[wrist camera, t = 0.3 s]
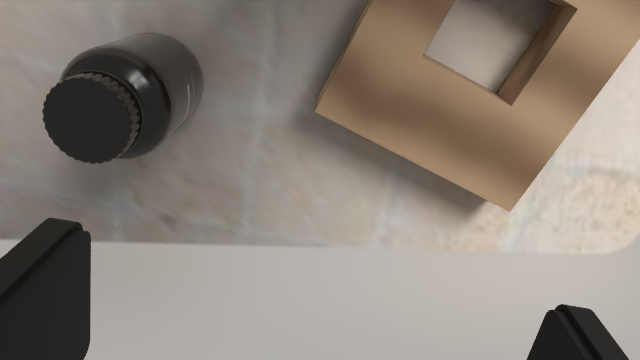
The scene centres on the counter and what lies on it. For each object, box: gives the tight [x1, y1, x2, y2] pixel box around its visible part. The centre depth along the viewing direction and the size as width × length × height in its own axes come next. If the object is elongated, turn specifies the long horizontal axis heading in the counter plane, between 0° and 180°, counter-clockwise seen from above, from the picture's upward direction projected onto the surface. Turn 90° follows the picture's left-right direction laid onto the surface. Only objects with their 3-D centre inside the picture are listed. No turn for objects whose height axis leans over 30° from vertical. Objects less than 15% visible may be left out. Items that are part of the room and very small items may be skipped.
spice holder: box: [314, 0, 640, 212], centre depth 34 cm, size 20×16×4 cm
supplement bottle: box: [42, 33, 203, 164], centre depth 33 cm, size 7×7×12 cm
